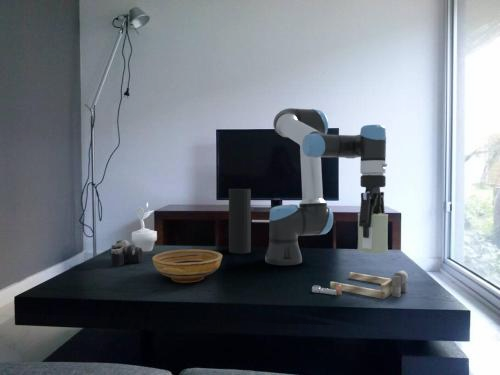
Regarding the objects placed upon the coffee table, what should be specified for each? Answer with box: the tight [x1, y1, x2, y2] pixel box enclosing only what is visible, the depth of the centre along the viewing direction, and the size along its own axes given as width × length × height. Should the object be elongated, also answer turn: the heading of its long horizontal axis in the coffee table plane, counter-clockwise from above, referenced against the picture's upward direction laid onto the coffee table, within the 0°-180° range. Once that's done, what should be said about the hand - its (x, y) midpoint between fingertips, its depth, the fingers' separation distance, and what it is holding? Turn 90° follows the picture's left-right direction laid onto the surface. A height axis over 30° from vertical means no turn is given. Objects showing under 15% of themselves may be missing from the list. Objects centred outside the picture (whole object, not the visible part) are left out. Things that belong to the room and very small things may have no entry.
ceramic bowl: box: [151, 249, 223, 284], centre depth 130 cm, size 30×24×8 cm
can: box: [357, 212, 389, 254], centre depth 117 cm, size 9×9×12 cm
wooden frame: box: [329, 270, 409, 300], centre depth 118 cm, size 21×16×7 cm
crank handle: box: [311, 284, 343, 296], centre depth 113 cm, size 9×2×3 cm, turn 62°
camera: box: [110, 239, 143, 269], centre depth 151 cm, size 16×10×10 cm, turn 2°
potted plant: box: [131, 201, 158, 253], centre depth 175 cm, size 13×12×25 cm
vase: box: [228, 188, 252, 255], centre depth 174 cm, size 10×10×30 cm
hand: (372, 246), depth 118 cm, fingers closed on can, 9 cm apart
